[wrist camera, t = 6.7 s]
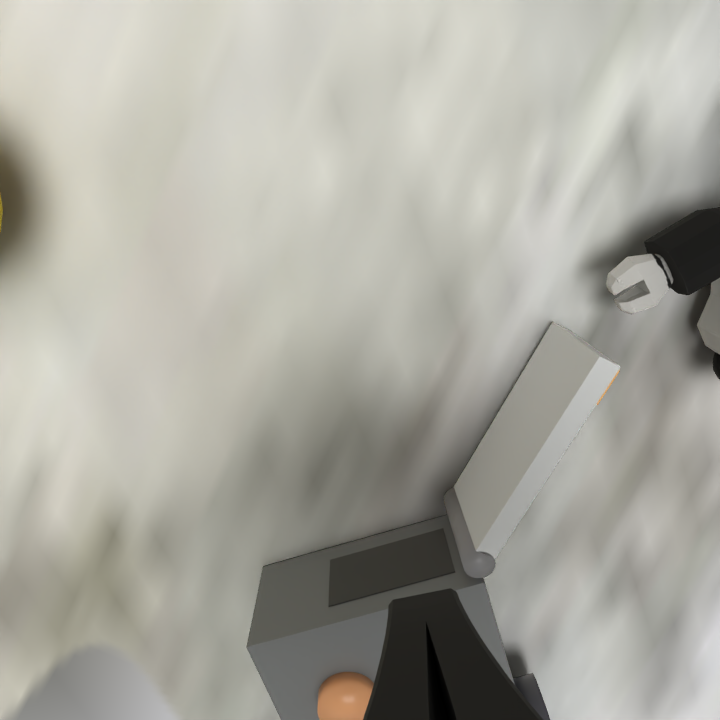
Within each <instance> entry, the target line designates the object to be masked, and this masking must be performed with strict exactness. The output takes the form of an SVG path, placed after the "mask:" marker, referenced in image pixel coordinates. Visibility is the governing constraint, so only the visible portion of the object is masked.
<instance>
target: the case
mask: <svg viewBox="0 0 720 720" xmlns="http://www.w3.org/2000/svg"><path fill="white" fill-rule="evenodd" d="M449 588H451V589H453V590H454V591H456V592H457V594H458V596H459V599H460V601H461V603H462V605H463V608H464V610H465V611H466V613H467V615H468V617H469V619H470V621H471V622H472V624H473V626H474V627H475V629H476V630H477V632H478V634H479V635H480V637H481V639H482V640H483V642H484V643H485V645H486V646H487V648H488V649H489V650H490V652H491V653H492V655H493V656H494V657H495V659H496V660H497V662H498V663H499V664H500V666H501V667H502V669H503V670H504V672H505V673H506V674H507V675H508V677H509V678H510V679H511V681H512V682H513V683H514V685H515V686H516V687H517V688H518V690H519V691H520V692H521V693H522V695H523V696H524V697H525V698H526V700H527V701H528V702H529V703H530V704H531V706H532V707H533V708H534V709H535V710H536V712H537V713H538V714H539V715H540V716H541V717H542V719H543V720H550V718H549V715H548V712H547V709H546V706H545V703H544V700H543V697H542V695H541V692H540V689H539V687H538V684H537V681H536V679H535V677H534V674H533V673H531V674H528V675H524V676H520V677H516V678H513V677H512V674H511V670H510V667H509V664H508V660H507V657H506V653H505V650H504V647H503V643H502V640H501V636H500V633H499V630H498V626H497V623H496V620H495V616H494V613H493V609H492V606H491V603H490V599H489V596H488V592H487V589H486V586H485V582H484V579H483V578H473V577H470V576H469V575H467V574H466V572H465V571H464V568H463V565H462V561H461V558H460V554H459V551H458V548H457V544H456V541H455V538H454V534H453V531H452V528H451V524H450V521H449V518H448V515H445V516H441V517H438V518H434V519H430V520H427V521H423V522H420V523H416V524H413V525H409V526H406V527H402V528H399V529H395V530H391V531H388V532H384V533H381V534H377V535H374V536H370V537H367V538H363V539H359V540H356V541H352V542H349V543H345V544H342V545H338V546H335V547H331V548H328V549H324V550H320V551H317V552H313V553H310V554H306V555H303V556H299V557H296V558H292V559H288V560H285V561H281V562H278V563H274V564H271V565H267V566H264V567H263V570H262V575H261V579H260V584H259V589H258V594H257V599H256V604H255V609H254V613H253V618H252V623H251V628H250V633H249V638H248V643H247V649H248V651H249V653H250V655H251V658H252V660H253V662H254V664H255V666H256V668H257V670H258V672H259V674H260V676H261V678H262V680H263V683H264V685H265V687H266V689H267V691H268V693H269V695H270V697H271V699H272V701H273V703H274V705H275V708H276V710H277V712H278V714H279V716H280V718H281V720H363V718H364V715H365V711H366V708H367V705H368V702H369V699H370V696H371V692H372V689H373V685H374V681H375V677H376V673H377V670H378V666H379V662H380V658H381V653H382V648H383V644H384V639H385V633H386V627H387V619H388V606H389V604H390V603H391V601H392V600H394V599H399V598H404V597H409V596H414V595H419V594H424V593H429V592H434V591H439V590H444V589H449Z"/></svg>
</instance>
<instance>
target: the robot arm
mask: <svg viewBox="0 0 720 720" xmlns="http://www.w3.org/2000/svg"><path fill="white" fill-rule="evenodd" d="M363 720H543V719H542V717H541V716H540V715H539V714H538V713H537V712H536V710H535V709H534V708H533V707H532V706H531V704H530V703H529V702H528V701H527V700H526V698H525V697H524V696H523V695H522V693H521V692H520V691H519V690H518V688H517V687H516V686H515V685H514V683H513V682H512V681H511V679H510V678H509V677H508V675H507V674H506V673H505V672H504V670H503V669H502V667H501V666H500V664H499V663H498V662H497V660H496V659H495V657H494V656H493V655H492V653H491V652H490V650H489V649H488V648H487V646H486V645H485V643H484V642H483V640H482V639H481V637H480V635H479V634H478V632H477V630H476V629H475V627H474V626H473V624H472V622H471V621H470V619H469V617H468V615H467V613H466V611H465V610H464V608H463V605H462V603H461V601H460V599H459V596H458V594H457V592H456V591H454V590H453V589H451V588H449V589H444V590H439V591H434V592H429V593H424V594H419V595H414V596H409V597H404V598H399V599H394V600H392V601H391V603H390V604H389V606H388V619H387V627H386V633H385V639H384V644H383V648H382V653H381V658H380V662H379V666H378V670H377V673H376V677H375V681H374V685H373V689H372V692H371V696H370V699H369V702H368V705H367V708H366V711H365V715H364V718H363Z"/></svg>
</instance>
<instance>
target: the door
mask: <svg viewBox="0 0 720 720" xmlns="http://www.w3.org/2000/svg"><path fill="white" fill-rule="evenodd" d="M620 367H621V366H619V365H618V364H616V363H615V362H614V361H612V360H611V359H609V358H608V357H607V356H605V355H604V354H602V353H601V352H600V351H598V350H597V349H595V348H594V347H593V346H591V345H590V344H588V343H587V342H586V341H584V340H583V339H581V338H580V337H579V336H577V335H576V334H574V333H573V332H572V331H570V330H568V329H566V328H564V327H562V326H560V325H558V324H556V323H554V322H552V324H551V325H550V327H549V329H548V330H547V332H546V334H545V335H544V337H543V339H542V340H541V342H540V344H539V345H538V347H537V349H536V350H535V352H534V354H533V355H532V357H531V359H530V360H529V362H528V364H527V365H526V367H525V369H524V370H523V372H522V374H521V375H520V377H519V379H518V380H517V382H516V384H515V385H514V387H513V389H512V390H511V392H510V394H509V395H508V397H507V399H506V400H505V402H504V404H503V405H502V407H501V409H500V410H499V412H498V414H497V415H496V417H495V419H494V420H493V422H492V424H491V425H490V427H489V429H488V430H487V432H486V434H485V435H484V437H483V439H482V440H481V442H480V444H479V445H478V447H477V449H476V450H475V452H474V454H473V455H472V457H471V459H470V460H469V462H468V464H467V465H466V467H465V469H464V471H463V472H462V474H461V476H460V477H459V479H458V481H457V482H456V484H455V486H454V488H451V489H449V490H448V491H447V492H446V493H445V495H444V504H445V507H446V511H447V514H448V518H449V521H450V524H451V528H452V531H453V534H454V538H455V541H456V544H457V548H458V551H459V554H460V558H461V561H462V565H463V568H464V571H465V572H466V574H467V575H469V576H470V577H473V578H483V577H486V576H488V575H489V574H491V573H492V571H493V570H494V568H495V560H494V559H496V557H497V556H498V554H499V553H500V551H501V550H502V548H503V547H504V545H505V544H506V542H507V541H508V539H509V537H510V536H511V534H512V533H513V531H514V530H515V528H516V527H517V525H518V524H519V522H520V521H521V519H522V518H523V516H524V514H525V513H526V511H527V510H528V508H529V507H530V505H531V504H532V502H533V501H534V499H535V498H536V496H537V495H538V493H539V491H540V490H541V488H542V487H543V485H544V484H545V482H546V481H547V479H548V478H549V476H550V475H551V473H552V472H553V470H554V468H555V467H556V465H557V464H558V462H559V461H560V459H561V458H562V456H563V455H564V453H565V452H566V450H567V448H568V447H569V445H570V444H571V442H572V441H573V439H574V438H575V436H576V435H577V433H578V432H579V430H580V429H581V427H582V425H583V424H584V422H585V421H586V419H587V418H588V416H589V415H590V413H591V412H592V410H593V409H594V407H595V406H596V404H597V405H598V404H599V402H600V401H601V399H602V398H603V396H604V394H605V393H606V391H607V390H608V388H609V387H610V385H611V384H612V382H613V381H614V379H615V378H616V376H617V375H618V373H619V371H620V370H619V369H620Z"/></svg>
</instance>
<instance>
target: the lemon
mask: <svg viewBox="0 0 720 720" xmlns="http://www.w3.org/2000/svg"><path fill="white" fill-rule="evenodd" d="M2 213H3V207H2V201H1V194H0V232H1V223H2Z"/></svg>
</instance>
